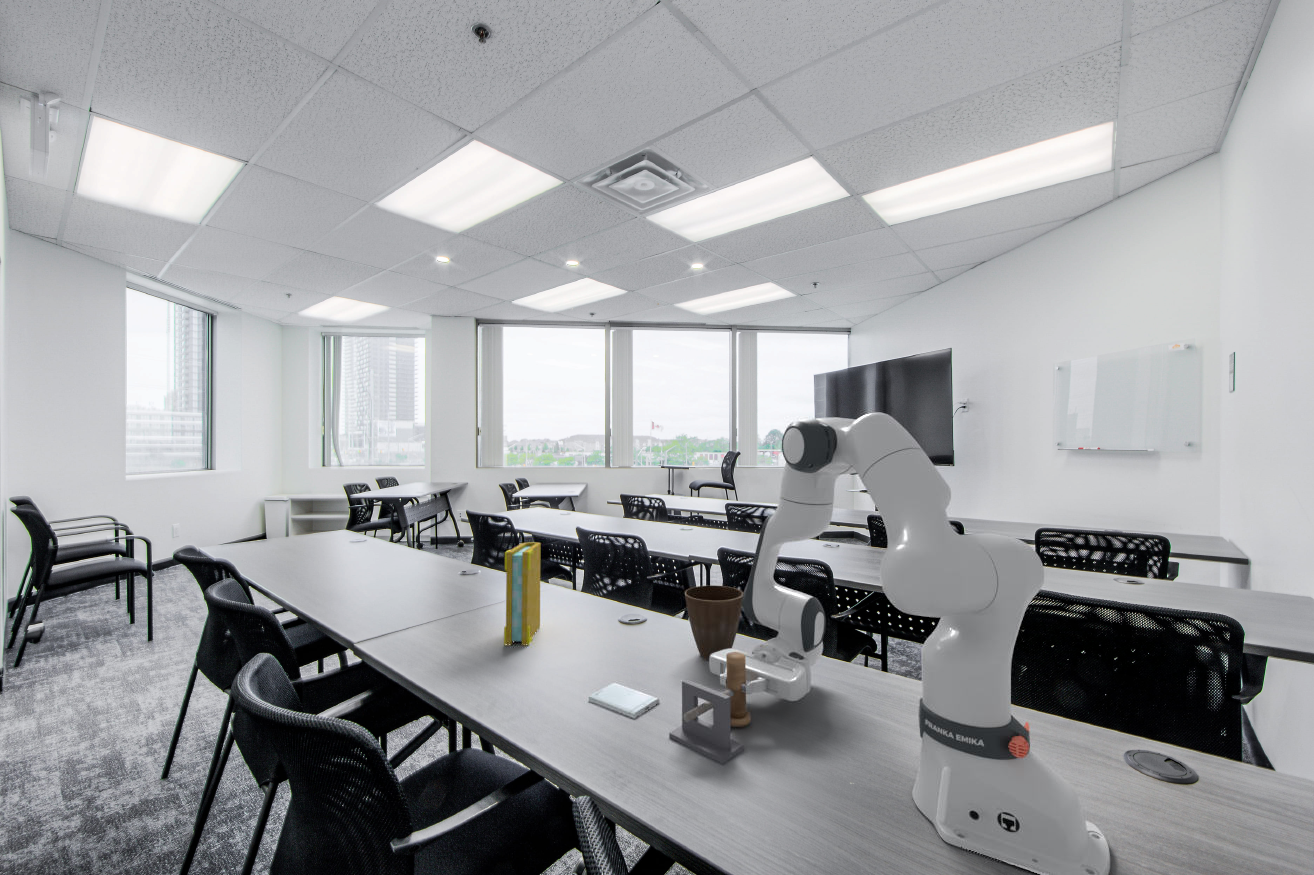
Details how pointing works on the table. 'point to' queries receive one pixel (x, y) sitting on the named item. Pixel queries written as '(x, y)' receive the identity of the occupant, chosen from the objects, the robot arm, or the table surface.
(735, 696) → the hammer
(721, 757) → the grey square frame stand
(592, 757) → the table surface
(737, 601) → the plant pot
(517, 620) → the book
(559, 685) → the table surface
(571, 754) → the table surface
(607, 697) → the hard drive
